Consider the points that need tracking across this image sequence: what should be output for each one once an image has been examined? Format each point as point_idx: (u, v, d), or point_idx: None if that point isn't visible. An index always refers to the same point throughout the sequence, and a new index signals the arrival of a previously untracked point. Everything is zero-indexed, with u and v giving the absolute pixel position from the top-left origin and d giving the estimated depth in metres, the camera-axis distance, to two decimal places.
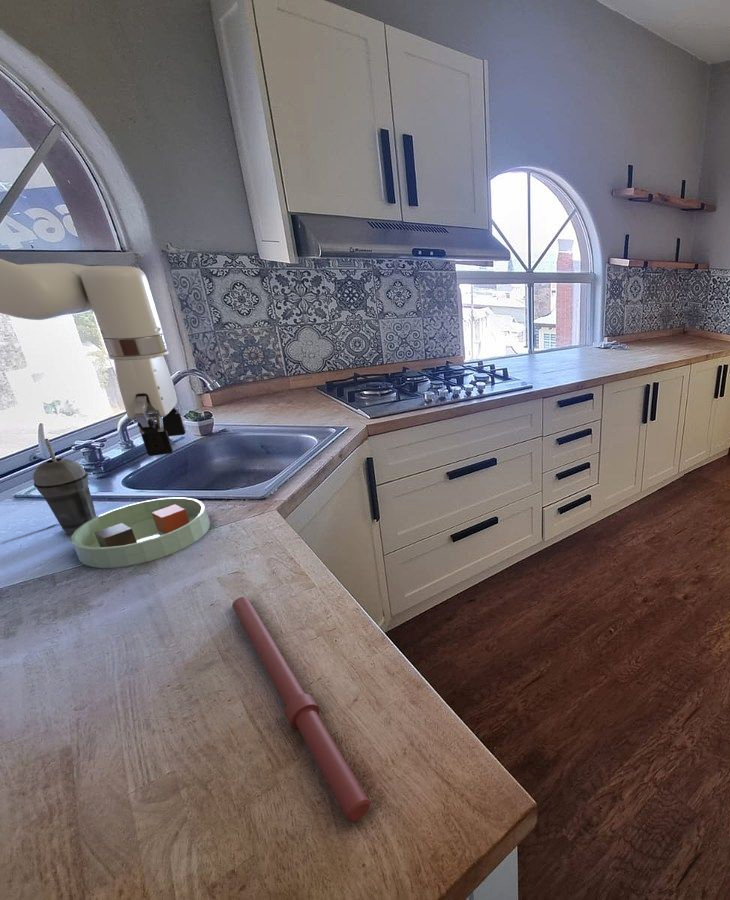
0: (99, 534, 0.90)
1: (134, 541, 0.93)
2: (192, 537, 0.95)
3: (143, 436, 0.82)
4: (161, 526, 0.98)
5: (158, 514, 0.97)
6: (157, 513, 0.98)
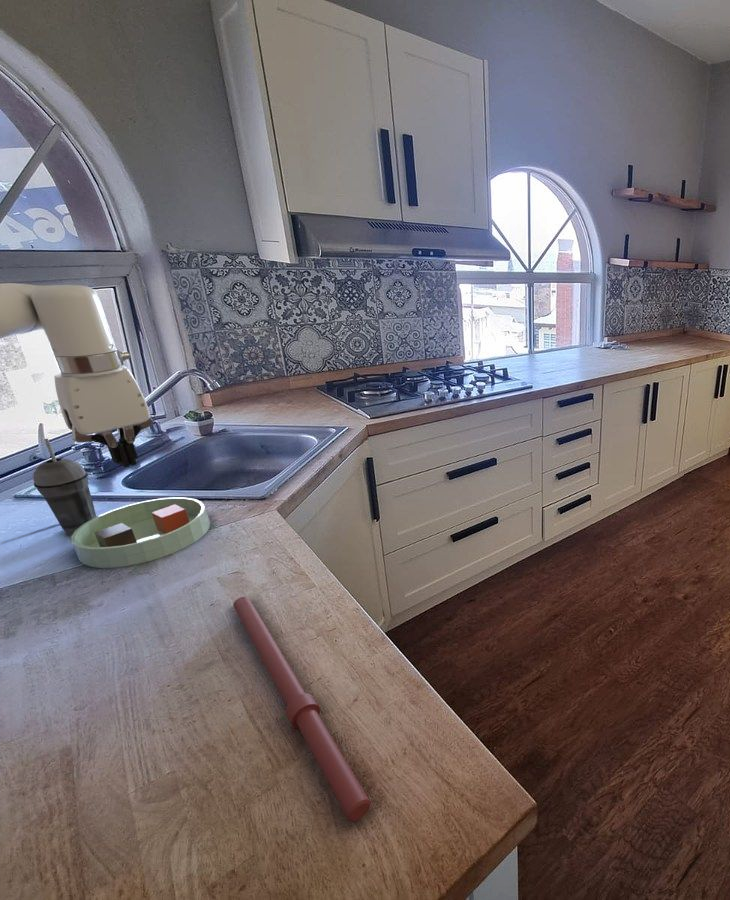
0: (99, 534, 0.90)
1: (134, 541, 0.93)
2: (192, 537, 0.95)
3: None
4: (161, 526, 0.98)
5: (158, 514, 0.97)
6: (157, 513, 0.98)
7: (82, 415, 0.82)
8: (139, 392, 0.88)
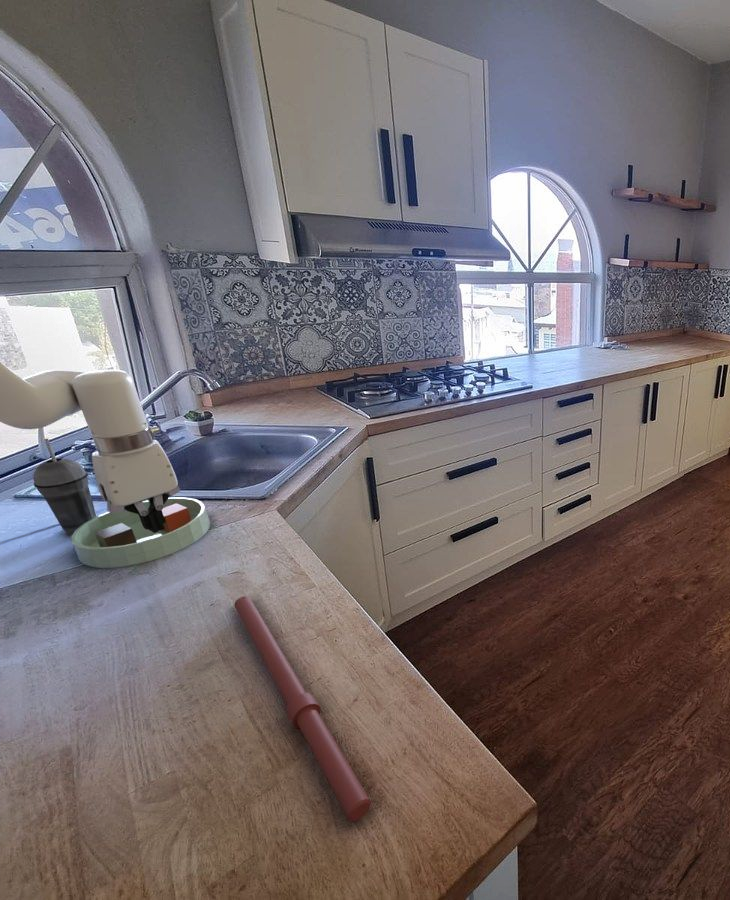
0: (99, 534, 0.90)
1: (134, 541, 0.93)
2: (192, 537, 0.95)
3: None
4: None
5: None
6: None
7: (117, 489, 0.88)
8: (168, 463, 0.94)
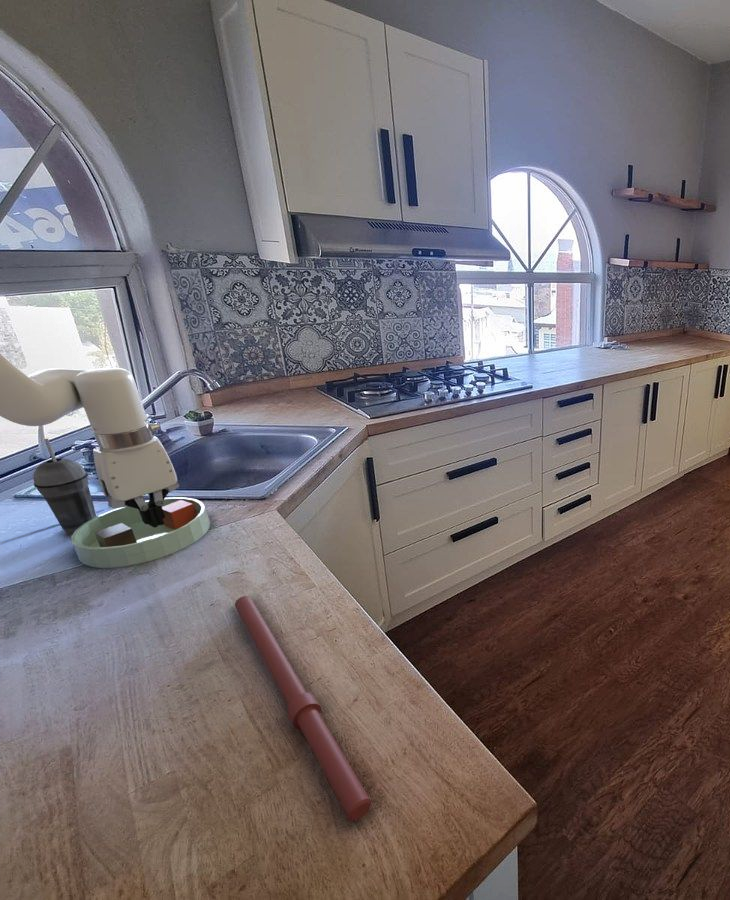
0: (99, 534, 0.90)
1: (134, 541, 0.93)
2: (192, 537, 0.95)
3: None
4: (169, 521, 1.00)
5: (166, 509, 0.99)
6: (165, 509, 0.99)
7: (118, 485, 0.90)
8: (168, 460, 0.96)
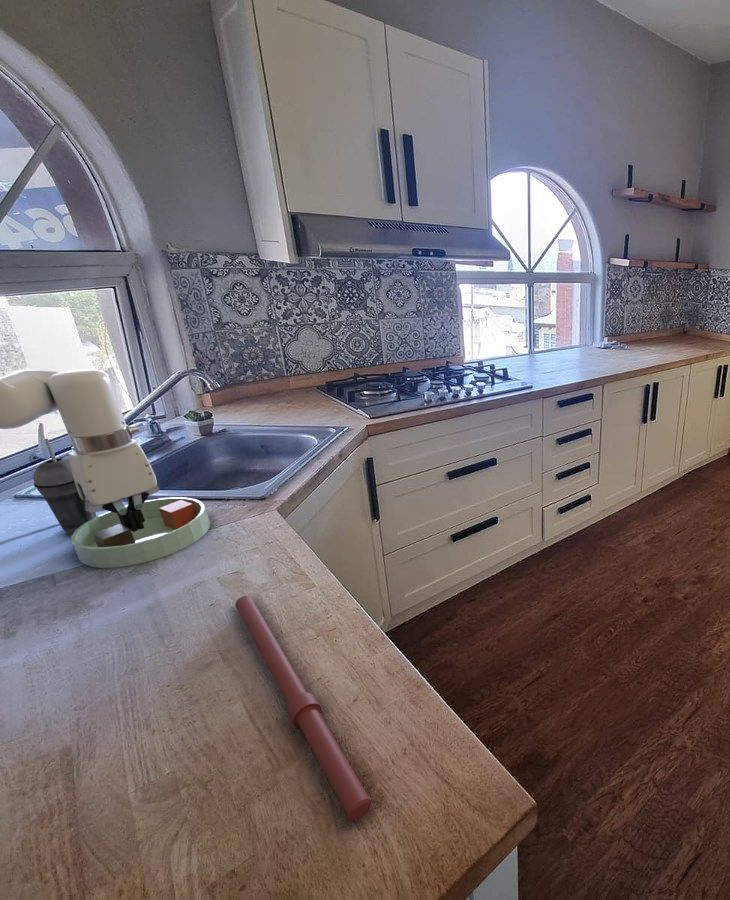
0: (97, 535, 0.90)
1: (133, 542, 0.93)
2: (192, 537, 0.95)
3: None
4: (169, 521, 1.00)
5: (166, 509, 0.99)
6: (165, 509, 0.99)
7: (95, 488, 0.88)
8: (147, 462, 0.94)
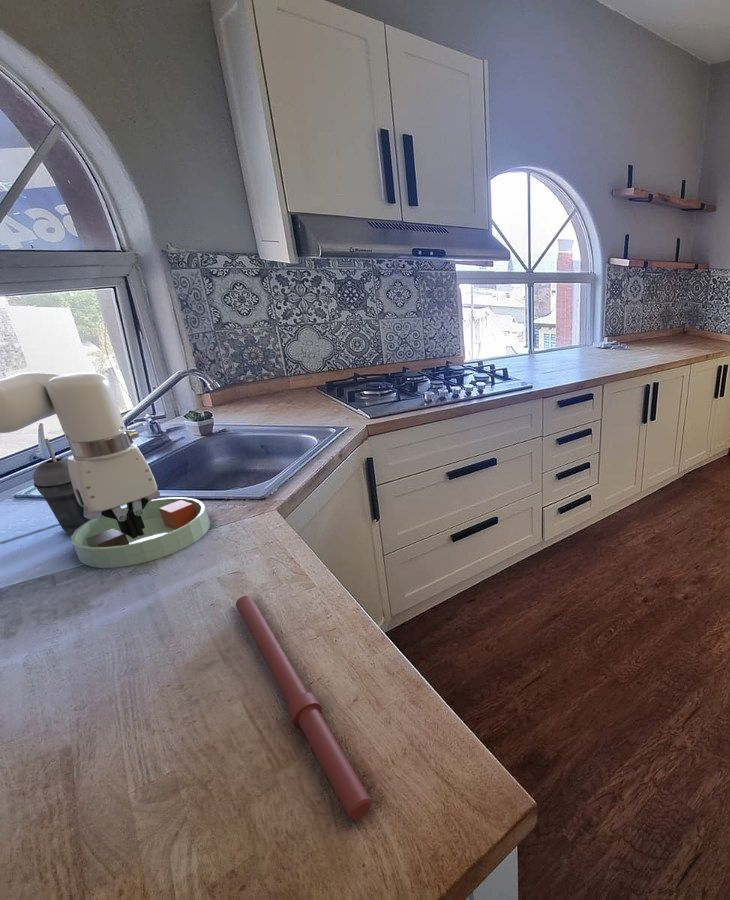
0: (91, 540, 0.89)
1: None
2: (192, 537, 0.95)
3: None
4: (169, 521, 1.00)
5: (166, 509, 0.99)
6: (165, 509, 0.99)
7: (93, 495, 0.86)
8: (147, 468, 0.92)
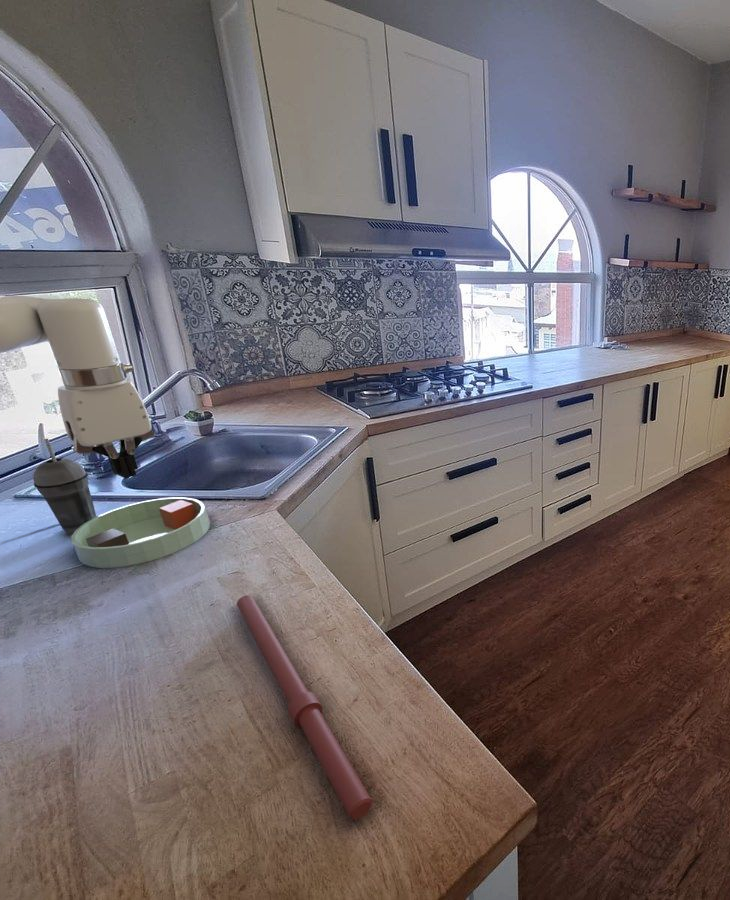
0: (91, 540, 0.89)
1: None
2: (192, 537, 0.95)
3: None
4: (169, 521, 1.00)
5: (166, 509, 0.99)
6: (165, 509, 0.99)
7: (84, 427, 0.82)
8: (141, 404, 0.88)
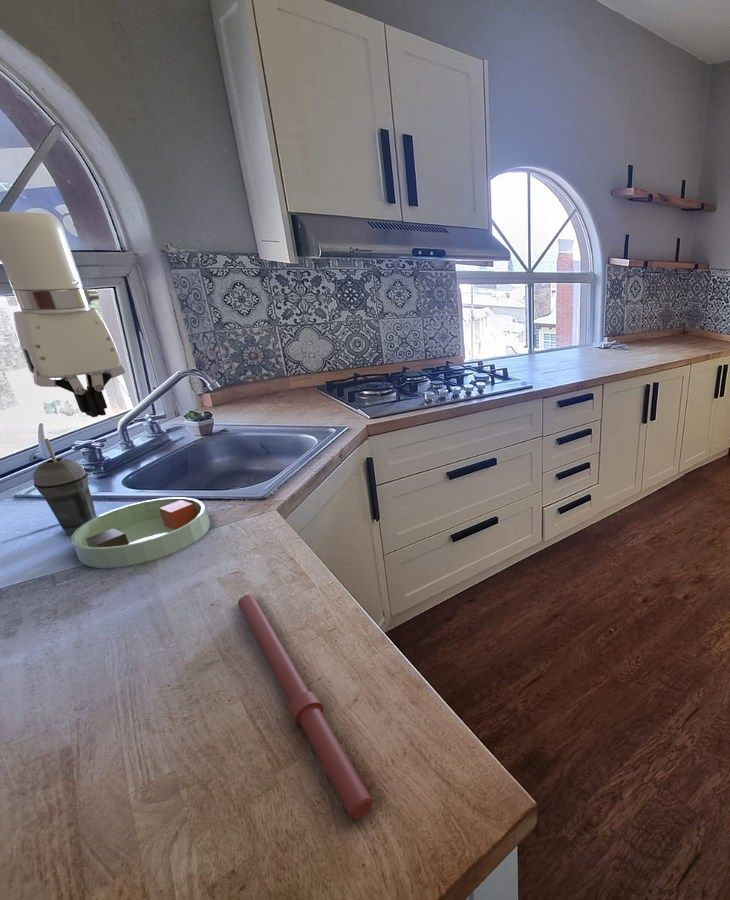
0: (91, 540, 0.89)
1: None
2: (192, 537, 0.95)
3: None
4: (169, 521, 1.00)
5: (166, 509, 0.99)
6: (165, 509, 0.99)
7: (44, 356, 0.75)
8: (108, 336, 0.81)
